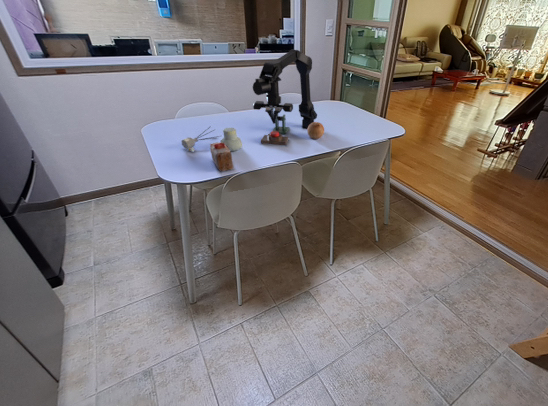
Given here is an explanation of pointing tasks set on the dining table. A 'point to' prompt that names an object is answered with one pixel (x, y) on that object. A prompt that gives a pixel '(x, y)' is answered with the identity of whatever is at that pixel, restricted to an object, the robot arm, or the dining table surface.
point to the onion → (315, 130)
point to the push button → (274, 134)
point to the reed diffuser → (193, 141)
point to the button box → (274, 140)
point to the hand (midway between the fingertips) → (274, 123)
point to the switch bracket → (281, 129)
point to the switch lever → (279, 118)
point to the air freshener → (231, 139)
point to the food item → (221, 156)
